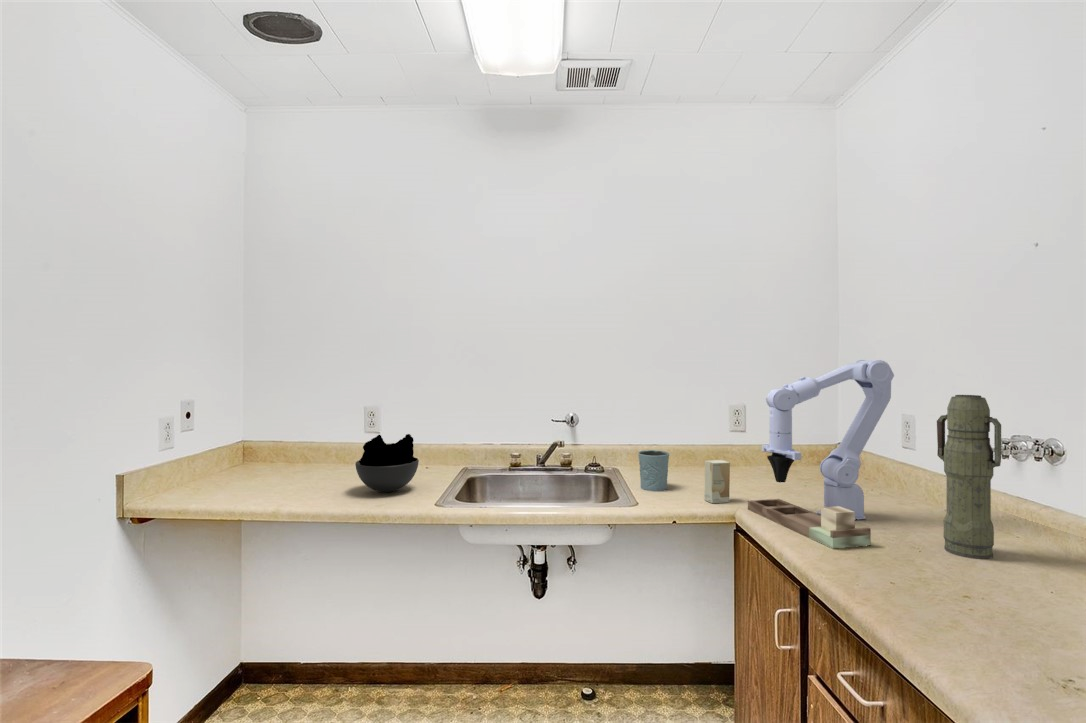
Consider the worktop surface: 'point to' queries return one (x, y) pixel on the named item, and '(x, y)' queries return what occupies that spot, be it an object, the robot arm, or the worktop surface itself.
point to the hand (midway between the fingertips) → (780, 481)
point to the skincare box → (717, 481)
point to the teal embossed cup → (653, 470)
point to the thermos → (968, 475)
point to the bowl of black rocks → (387, 464)
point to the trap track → (809, 524)
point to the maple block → (837, 518)
